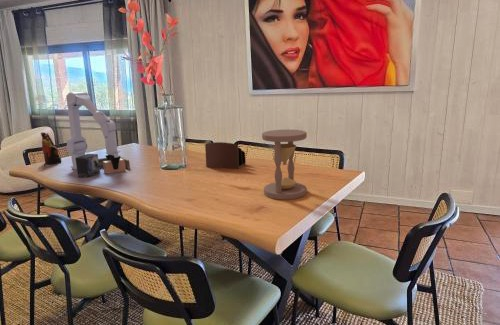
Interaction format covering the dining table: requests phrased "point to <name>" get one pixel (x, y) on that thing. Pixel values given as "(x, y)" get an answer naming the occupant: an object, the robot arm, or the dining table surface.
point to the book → (109, 167)
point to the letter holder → (224, 155)
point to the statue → (49, 150)
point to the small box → (87, 165)
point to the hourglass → (283, 152)
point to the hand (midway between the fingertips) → (114, 168)
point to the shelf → (107, 160)
